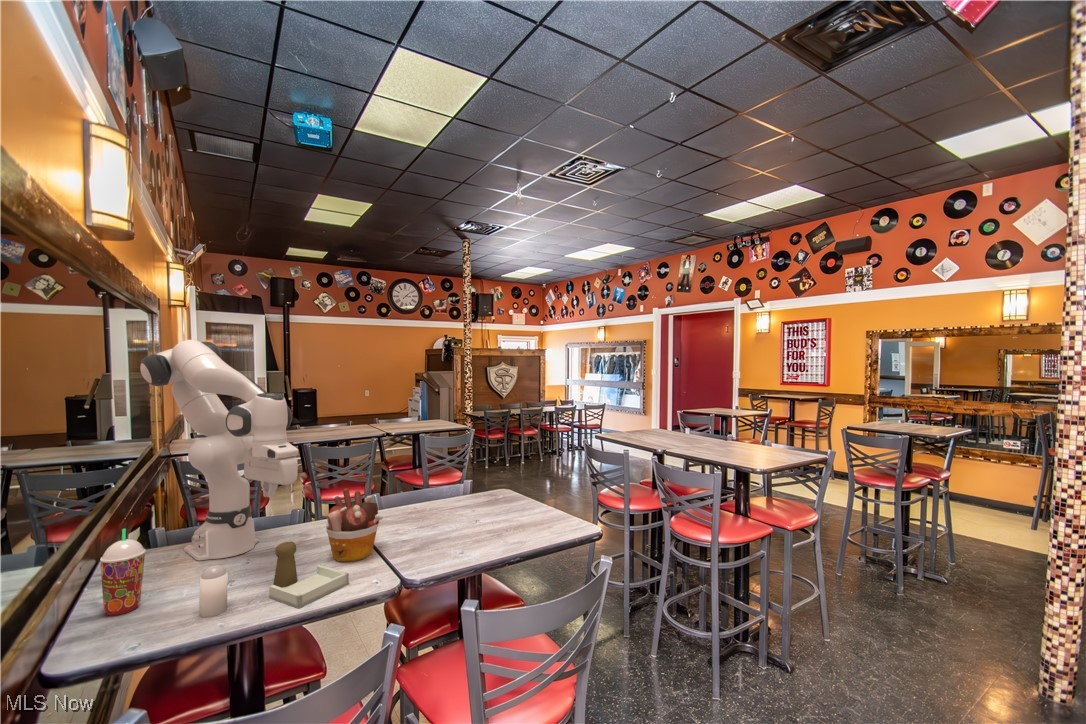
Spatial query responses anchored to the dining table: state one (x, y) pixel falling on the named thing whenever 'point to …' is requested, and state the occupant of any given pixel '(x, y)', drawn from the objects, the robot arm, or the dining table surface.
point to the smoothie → (122, 575)
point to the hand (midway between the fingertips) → (269, 496)
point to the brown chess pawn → (285, 565)
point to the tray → (310, 587)
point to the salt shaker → (213, 591)
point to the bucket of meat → (352, 527)
